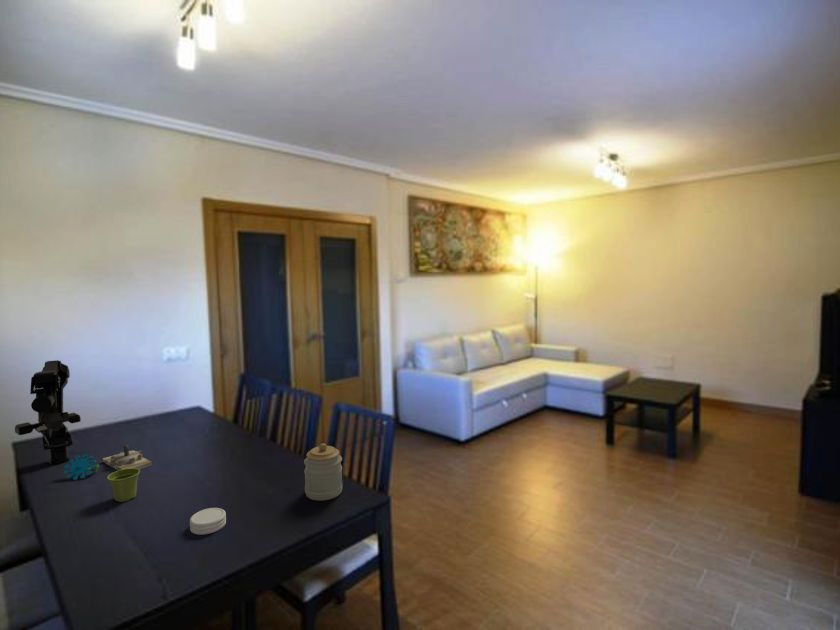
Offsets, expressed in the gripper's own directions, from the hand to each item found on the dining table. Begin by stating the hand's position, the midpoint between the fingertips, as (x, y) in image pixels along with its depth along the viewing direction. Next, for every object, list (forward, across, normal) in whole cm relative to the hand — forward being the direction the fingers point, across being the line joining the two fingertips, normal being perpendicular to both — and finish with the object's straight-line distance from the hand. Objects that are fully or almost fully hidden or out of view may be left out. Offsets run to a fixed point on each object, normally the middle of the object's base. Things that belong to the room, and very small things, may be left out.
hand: (50, 445), depth 173 cm
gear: (+12, +6, -11) cm, 17 cm away
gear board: (+12, +21, -12) cm, 27 cm away
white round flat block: (+11, +15, -83) cm, 85 cm away
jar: (+11, +50, -96) cm, 109 cm away
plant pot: (+12, +8, -43) cm, 45 cm away
